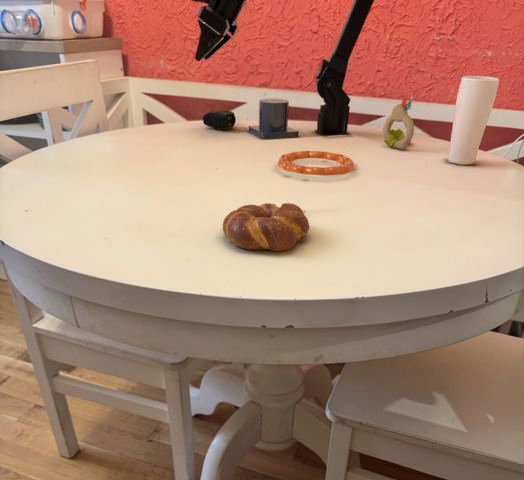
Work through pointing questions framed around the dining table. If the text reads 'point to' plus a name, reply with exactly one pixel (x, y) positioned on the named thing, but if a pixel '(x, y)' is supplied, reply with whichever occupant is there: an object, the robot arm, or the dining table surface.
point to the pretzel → (266, 226)
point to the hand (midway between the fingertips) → (200, 59)
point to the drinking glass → (471, 117)
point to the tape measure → (219, 119)
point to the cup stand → (273, 120)
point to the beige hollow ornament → (397, 137)
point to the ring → (346, 167)
